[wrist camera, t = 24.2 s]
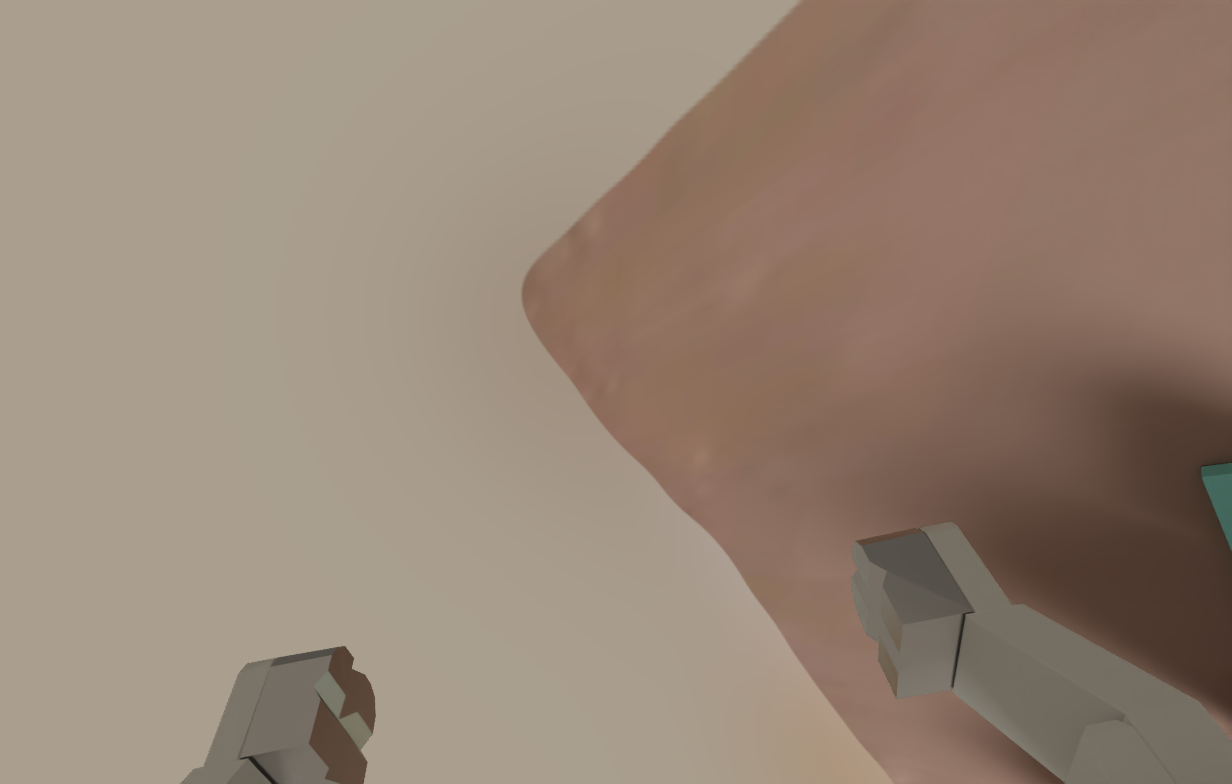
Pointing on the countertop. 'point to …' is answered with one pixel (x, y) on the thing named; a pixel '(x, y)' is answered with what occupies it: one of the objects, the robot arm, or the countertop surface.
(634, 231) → the countertop surface
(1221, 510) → the pad
